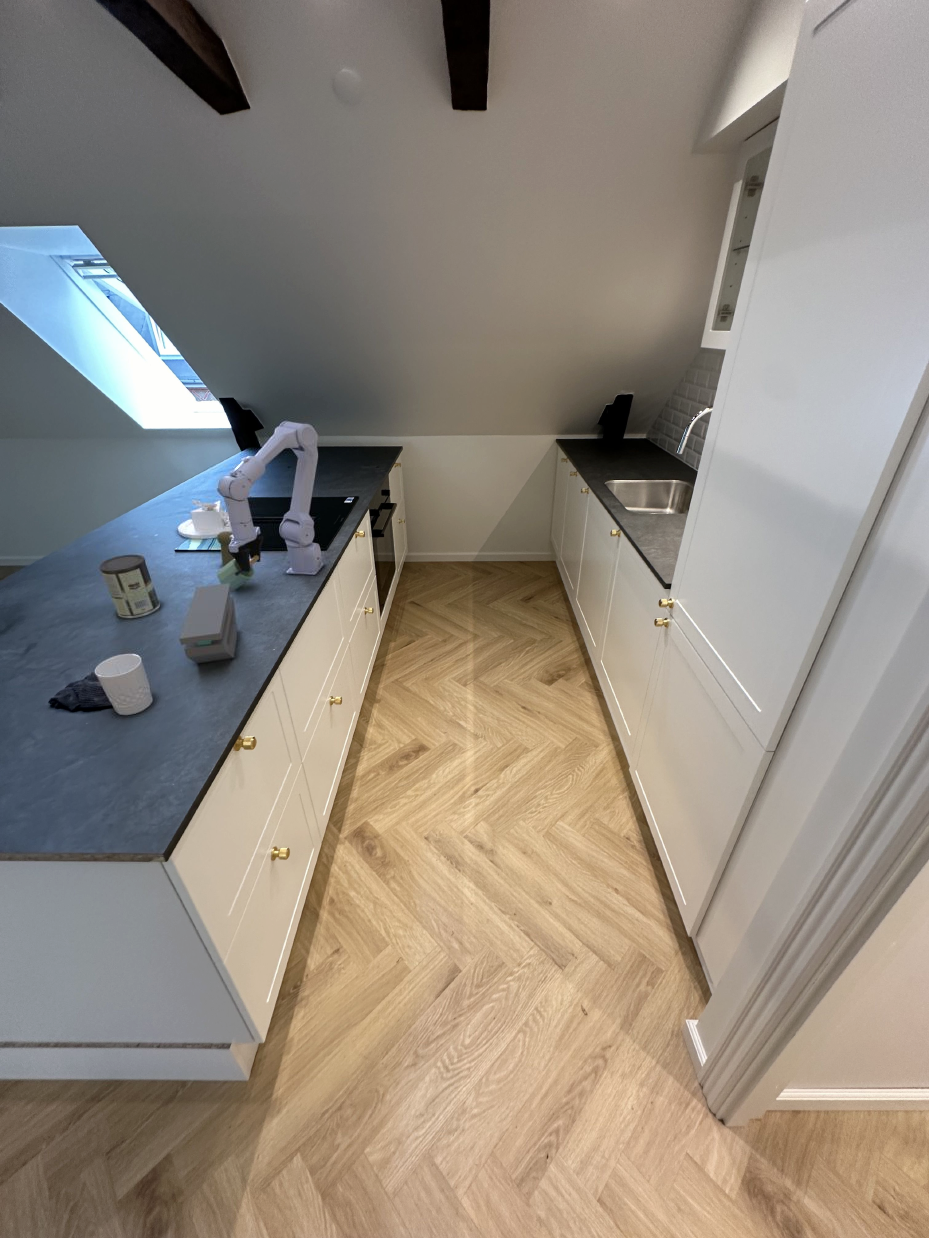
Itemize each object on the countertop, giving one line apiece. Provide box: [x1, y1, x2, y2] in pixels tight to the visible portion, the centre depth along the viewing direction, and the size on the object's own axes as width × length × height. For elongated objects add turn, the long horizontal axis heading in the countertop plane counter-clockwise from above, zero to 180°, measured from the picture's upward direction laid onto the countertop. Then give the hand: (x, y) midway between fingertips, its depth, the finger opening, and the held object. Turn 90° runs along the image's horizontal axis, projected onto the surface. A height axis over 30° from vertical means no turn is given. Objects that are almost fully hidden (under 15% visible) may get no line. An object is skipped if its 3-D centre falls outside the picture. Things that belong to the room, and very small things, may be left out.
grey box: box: [178, 583, 238, 664], centre depth 121 cm, size 25×8×11 cm, turn 17°
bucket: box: [217, 555, 259, 591], centre depth 148 cm, size 7×8×11 cm
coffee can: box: [98, 554, 161, 619], centre depth 136 cm, size 10×10×14 cm
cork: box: [216, 531, 234, 568], centre depth 163 cm, size 6×6×11 cm
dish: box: [177, 499, 232, 540], centre depth 193 cm, size 25×25×11 cm
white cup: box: [94, 653, 154, 716], centre depth 102 cm, size 8×8×10 cm
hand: (251, 566), depth 147 cm, fingers closed on bucket, 6 cm apart
